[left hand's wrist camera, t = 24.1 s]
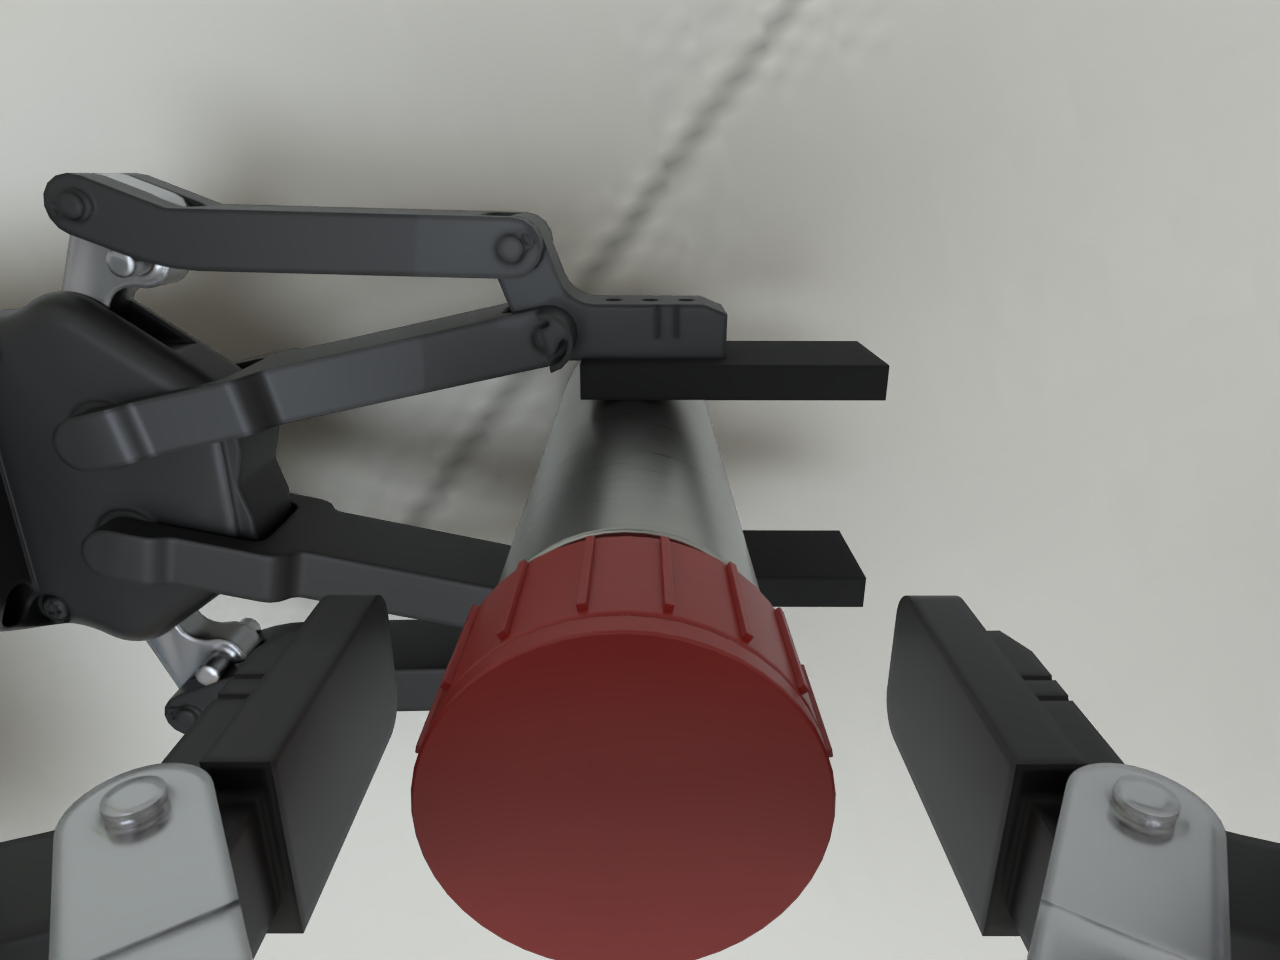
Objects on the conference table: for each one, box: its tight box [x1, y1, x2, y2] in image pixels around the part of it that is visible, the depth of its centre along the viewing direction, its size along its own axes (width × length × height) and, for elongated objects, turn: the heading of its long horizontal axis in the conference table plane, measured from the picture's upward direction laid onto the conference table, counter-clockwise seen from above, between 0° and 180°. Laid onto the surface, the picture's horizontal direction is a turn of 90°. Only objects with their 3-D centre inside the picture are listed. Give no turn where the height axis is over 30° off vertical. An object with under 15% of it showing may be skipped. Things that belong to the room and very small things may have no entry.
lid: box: [411, 535, 836, 960], centre depth 10 cm, size 5×5×2 cm
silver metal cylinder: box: [498, 361, 760, 591], centre depth 17 cm, size 4×4×16 cm
